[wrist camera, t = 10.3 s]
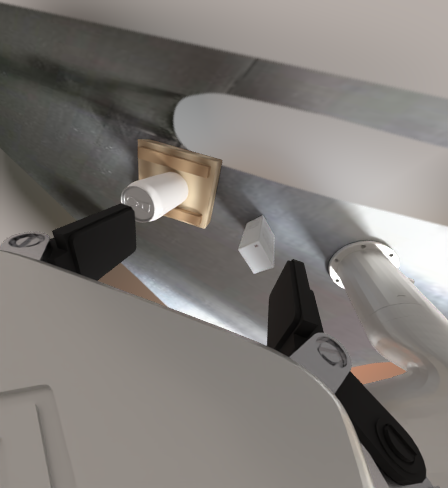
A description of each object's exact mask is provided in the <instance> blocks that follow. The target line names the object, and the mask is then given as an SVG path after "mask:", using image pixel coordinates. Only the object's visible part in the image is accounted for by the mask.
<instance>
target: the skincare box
mask: <svg viewBox="0 0 448 488" xmlns="http://www.w3.org/2000/svg"><path fill="white" fill-rule="evenodd" d="M274 243H275V236H274V234H273V232H272V231H271V229H270V227H269V225H268V223H267V221H266V220H265V218H264V216H263V215H262V216H260V217H258V218H256V219H254V220H252V221H250V222H248V223H247V224H246V227H245V230H244V233H243V236H242V239H241V242H240V245H239V248H238V250H239V252H240V253H241V255H242V256H243V258H244V259H245V261H246V262H247V264H248V265H249V267H250V268H251V270H252V271H253V273H254V274H255V273H258V272H261V271H264V270H267V269H270V268H273V267H274Z"/></svg>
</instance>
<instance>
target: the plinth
mask: <svg viewBox="0 0 448 488" xmlns="http://www.w3.org/2000/svg"><path fill="white" fill-rule="evenodd" d="M221 165H222V160H221V159H217V158H214V157H210V156H207V155H203V154H199V153H196V152H192V151H189V150H185V149H182V148H178V147H175V146H171V145H168V144H164V143H161V142H157V141H154V140H150V139H138V167H139V180H141V179H145V178H148V177H152V176H155V175H159V174H163V173H166V172H175V173H178V174H179V175H181V176H182V177H183V178H184V179H185V181H186V183H187V186H188V196H187V198H186V200H185V201H184V202H182V203H181V204H180V205H178V206H177V207H175V208H173V209H172V210H170V211H169V212H167V213H166V214H164V216H167V217H170V218H173V219H176V220H179V221H182V222H186V223H189V224H192V225H195V226H198V227H201V228H204V229H205V227H206V226H207V225H208V224H209V223H210V220H211V215H212V210H213V205H214V200H215V195H216V190H217V185H218V180H219V175H220V170H221Z"/></svg>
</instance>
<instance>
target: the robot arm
mask: <svg viewBox="0 0 448 488" xmlns="http://www.w3.org/2000/svg"><path fill="white" fill-rule="evenodd" d="M52 232H53V235H54V238H52V239H50V237H49V235H48V234H45V233H42V232H25V233H19V234H16V235H13V236H11V237H9V238H7V239H6V240H4V241H3V243H2V244H1V245H0V488H448V320H447V318H446V317H445V316H444V315H443V314H442V313H441V312H440V311H439V310H438V309H437V308H436V307H435V306H434V305H433V304H432V303H431V302H430V301H429V300H428V299H427V298H426V297H425V296H424V295H423V294H422V293H421V292H420V291H419V290H418V289H417V288H416V287H415V286H414V280H413V279H411V278H407V277H406V276H405V275H404V274H403V273H402V272H401V271H400V270H399V269H398V268H399V259H398V256H397V254H396V253H395V252H394V251H393V250H392V249H391V248H390V247H388V246H387V245H385V244H383V243H379V242H375V241H360V242H355V243H352V244H349V245H347V246H344V247H343V248H341V249H340V250H338V251H337V252H336V253H335V254H334V255H333V257H332V258H331V260H330V262H329V266H328V269H329V274H330V276H331V278H332V280H333V281H334V282H335V283H336V284H337V285H338V286H340V287H342V288H345V291H346V293H347V295H348V297H349V299H350V301H351V303H352V305H353V308H354V310H355V312H356V314H357V316H358V318H359V320H360V322H361V324H362V327H363V329H364V331H365V333H366V335H367V337H368V339H369V341H370V343H371V344H372V346H373V347H374V348H375V349H376V350H377V351H378V352H379V353H380V354H381V355H382V356H383V357H385V358H386V359H387V360H389V361H390V362H392V363H394V364H395V365H397V366H399V367H401V368H402V369H404V370H406V371H407V372H406V373H404V374H401V375H398V376H394V377H392V378H389V379H384V380H381V381H376V382H372V383H368V384H364V385H363V384H362V383H360V381H359V380H358V379H357V378H356V377H355V376H354V375H353V374H352V373H351V372H350V370H351V367H352V361H351V358H350V355H349V353H348V352H347V350H346V349H345V347H344V346H343V345H342V344H341V343H340V342H339V341H338V340H336V339H335V338H334V337H332V336H330V335H328V334H325V333H324V332H323V328H322V324H321V320H320V316H319V312H318V308H317V304H316V300H315V296H314V293H313V291H312V290H310V287H309V283H308V279H307V274H306V270H305V266H304V263H303V262H300V261H297V260H294V259H293V260H291V261H287V263H286V265H285V267H284V269H283V271H282V273H281V275H280V276H279V278H278V280H277V282H276V284H275V286H274V288H273V290H272V292H271V294H270V297H269V311H268V335H267V346H265V345H263V344H261V343H259V342H256V341H254V340H251V339H249V338H246V337H244V336H241V335H239V334H236V333H234V332H231V331H229V330H226V329H224V328H221V327H218V326H216V325H213V324H211V323H208V322H205V321H203V320H200V319H197V318H195V317H192V316H190V315H187V314H184V313H182V312H179V311H176V310H174V309H171V308H169V307H166V306H163V305H160V304H158V303H155V302H152V301H150V300H147V299H144V298H142V297H139V296H136V295H134V294H131V293H128V292H126V291H123V290H120V289H118V288H115V287H112V286H110V285H107V284H104V283H101V282H99V281H97V280H99V279H100V278H101V277H102V276H104V275H105V274H106V273H108V272H109V271H110V270H112V269H113V268H114V267H115V266H117V265H118V264H119V263H121V262H122V261H123V260H124V259H126V258H127V257H128V256H130V255H131V254H132V253H133V252H134V251H135V250H136V230H135V211H134V210H133V208H132V207H131V206H128V205H125V204H118V205H116V206H113V207H111V208H108V209H106V210H103V211H101V212H98V213H96V214H93V215H91V216H88V217H86V218H83V219H81V220H78V221H76V222H73V223H70V224H68V225H65V226H63V227H60V228H58V229H55V230H53V231H52Z"/></svg>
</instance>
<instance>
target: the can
mask: <svg viewBox="0 0 448 488" xmlns="http://www.w3.org/2000/svg"><path fill="white" fill-rule="evenodd" d="M187 196H188V186H187V183H186V181H185V179H184V178H183V177H182V176H181V175H179V174H178V173H175V172H166V173H163V174H159V175H155V176H152V177H148V178H145V179H141V180H138V181H135V182H133V183H131V184H130V185H129V186H128V187H126V188H125V189H124V190H123V191H122V194H121V203H122V204H125V205H128V206H131V207H132V208H133V210H134V211H135V221H138V222H148V221H154V220H156V219H158V218H160V217H161V216H163V215H164V214H166V213H167V212H169V211H170V210H172V209H173V208H175V207H177V206H178V205H180V204H181V203H182V202H184V201H185V200H186V198H187Z"/></svg>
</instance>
